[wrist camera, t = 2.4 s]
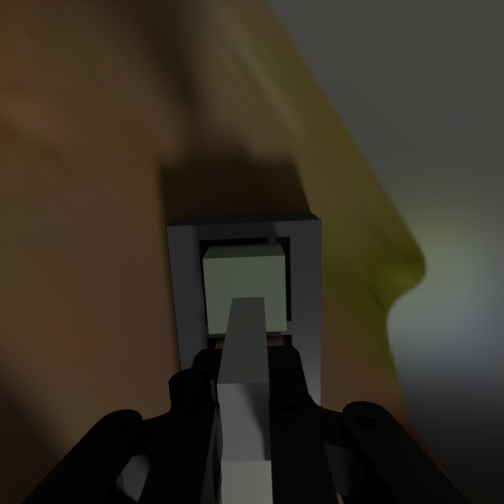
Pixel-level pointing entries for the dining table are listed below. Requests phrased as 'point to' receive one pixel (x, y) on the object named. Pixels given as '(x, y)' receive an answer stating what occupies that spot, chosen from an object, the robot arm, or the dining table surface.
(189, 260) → the button panel
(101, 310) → the dining table surface
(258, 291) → the green button
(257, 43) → the dining table surface
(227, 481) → the white button
